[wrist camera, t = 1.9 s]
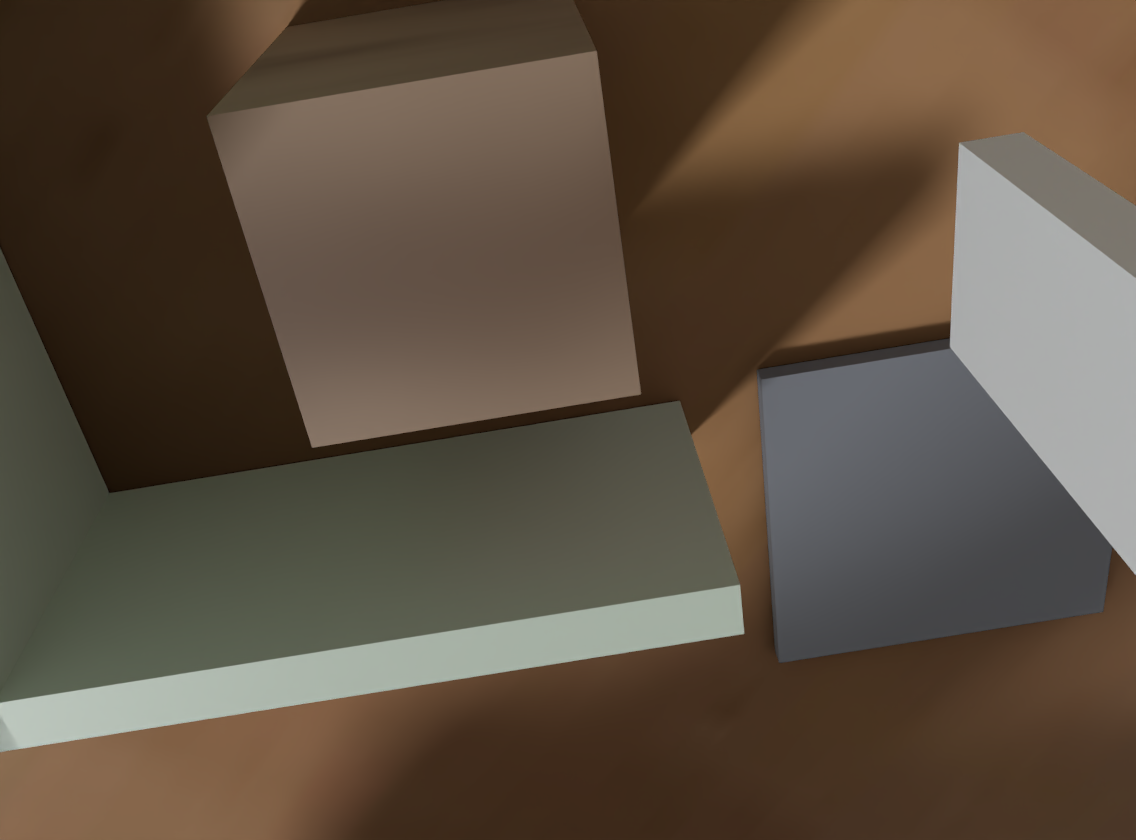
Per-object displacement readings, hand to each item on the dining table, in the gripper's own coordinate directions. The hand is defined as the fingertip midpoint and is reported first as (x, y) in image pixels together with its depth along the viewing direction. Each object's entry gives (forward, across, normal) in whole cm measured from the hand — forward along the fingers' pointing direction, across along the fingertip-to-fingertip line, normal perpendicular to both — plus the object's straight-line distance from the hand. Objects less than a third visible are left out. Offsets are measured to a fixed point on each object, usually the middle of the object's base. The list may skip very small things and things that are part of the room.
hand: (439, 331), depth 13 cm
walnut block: (+10, 0, 0) cm, 10 cm away
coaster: (+10, -10, +12) cm, 18 cm away
